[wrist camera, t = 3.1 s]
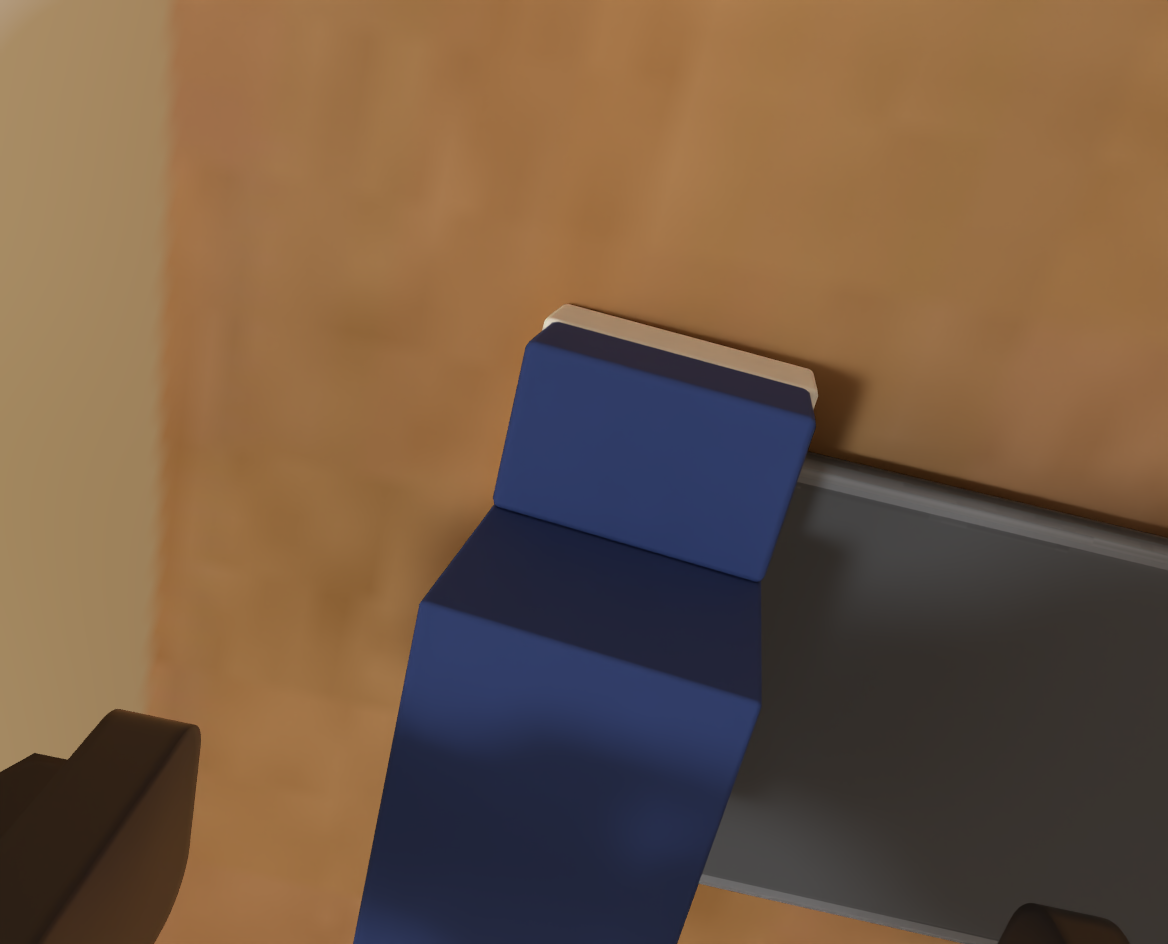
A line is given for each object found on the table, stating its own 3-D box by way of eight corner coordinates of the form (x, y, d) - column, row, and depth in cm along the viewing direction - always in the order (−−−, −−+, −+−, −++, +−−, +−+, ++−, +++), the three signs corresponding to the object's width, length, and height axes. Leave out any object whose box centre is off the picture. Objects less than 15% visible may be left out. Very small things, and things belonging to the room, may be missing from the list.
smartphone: (691, 427, 12) (1776, 689, 13) (687, 407, 13) (1702, 652, 14) (564, 865, 15) (1468, 1068, 15) (567, 823, 16) (1423, 1017, 16)
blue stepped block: (677, 786, 15) (638, 1084, 10) (467, 721, 15) (335, 980, 10) (815, 369, 12) (848, 503, 8) (563, 301, 13) (446, 390, 8)
